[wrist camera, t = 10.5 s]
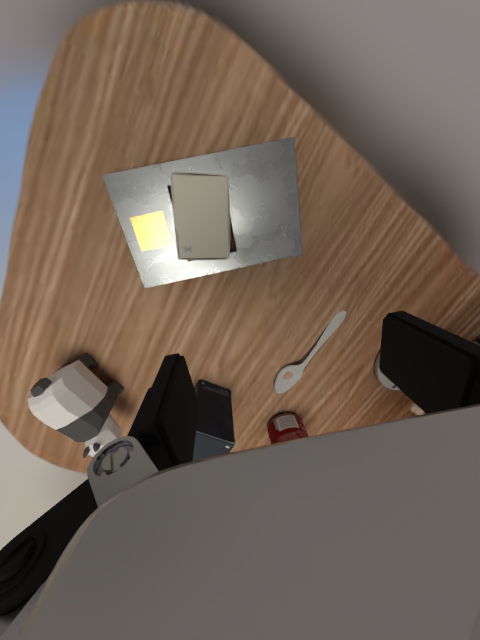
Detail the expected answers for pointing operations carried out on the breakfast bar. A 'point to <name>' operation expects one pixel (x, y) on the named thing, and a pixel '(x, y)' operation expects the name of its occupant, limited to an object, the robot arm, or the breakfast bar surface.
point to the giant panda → (77, 404)
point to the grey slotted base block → (245, 210)
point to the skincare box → (201, 215)
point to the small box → (213, 421)
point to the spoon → (297, 370)
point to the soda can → (286, 428)
